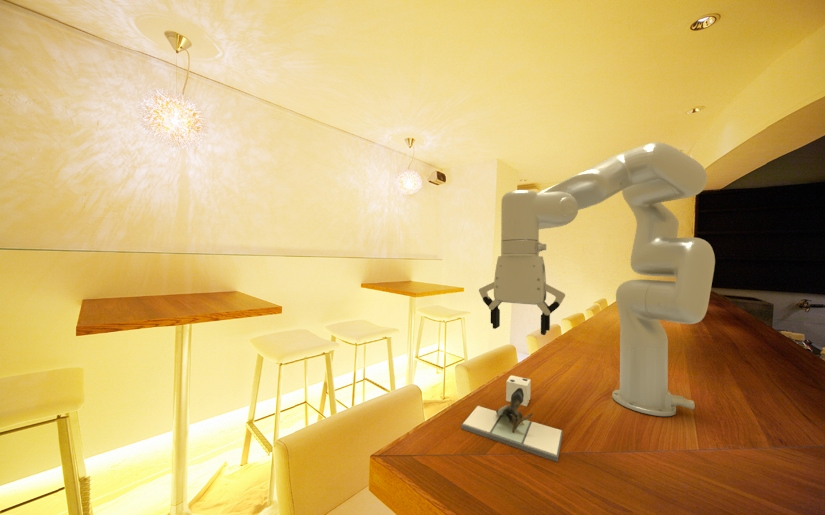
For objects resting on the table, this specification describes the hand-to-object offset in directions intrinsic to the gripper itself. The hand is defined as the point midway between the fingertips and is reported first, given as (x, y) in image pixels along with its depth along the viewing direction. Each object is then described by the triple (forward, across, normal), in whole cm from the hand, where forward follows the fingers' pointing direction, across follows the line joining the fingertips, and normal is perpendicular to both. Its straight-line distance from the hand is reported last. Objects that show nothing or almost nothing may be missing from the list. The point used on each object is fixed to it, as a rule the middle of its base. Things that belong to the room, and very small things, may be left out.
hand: (519, 330), depth 61 cm
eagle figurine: (+20, +1, 0) cm, 20 cm away
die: (+21, +3, -14) cm, 25 cm away
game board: (+20, +1, +2) cm, 21 cm away
